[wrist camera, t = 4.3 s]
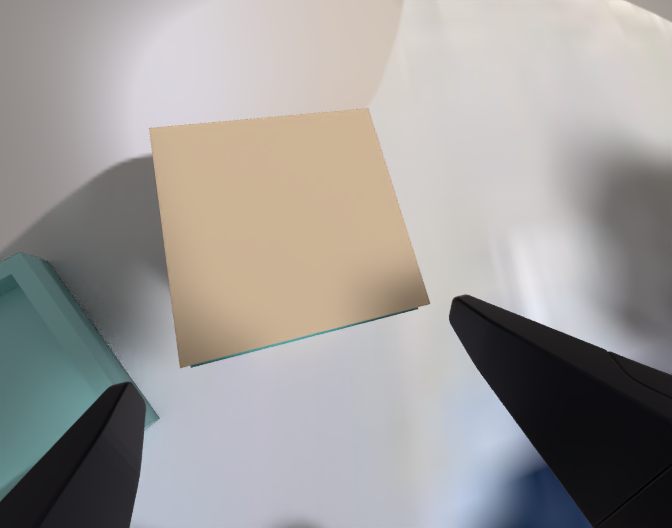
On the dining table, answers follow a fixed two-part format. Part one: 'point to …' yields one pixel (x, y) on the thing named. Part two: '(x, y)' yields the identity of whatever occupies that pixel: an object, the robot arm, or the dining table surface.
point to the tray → (45, 365)
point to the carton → (279, 231)
